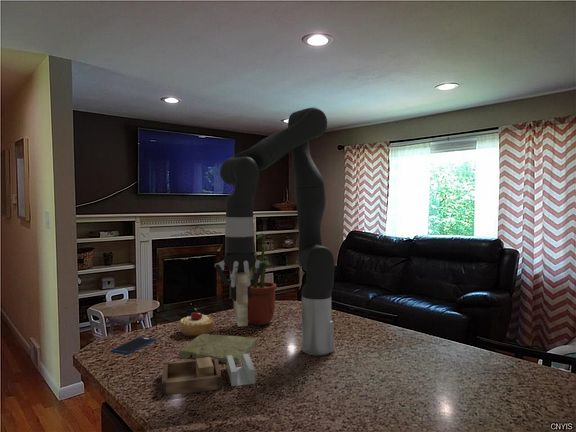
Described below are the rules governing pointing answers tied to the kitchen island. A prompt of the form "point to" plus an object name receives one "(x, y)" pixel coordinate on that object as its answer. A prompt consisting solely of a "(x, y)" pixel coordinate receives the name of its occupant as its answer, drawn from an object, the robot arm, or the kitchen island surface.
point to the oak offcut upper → (204, 367)
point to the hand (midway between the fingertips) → (240, 300)
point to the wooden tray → (188, 378)
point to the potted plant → (261, 294)
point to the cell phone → (133, 345)
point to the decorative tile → (218, 347)
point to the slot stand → (241, 371)
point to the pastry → (196, 325)
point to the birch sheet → (241, 300)
